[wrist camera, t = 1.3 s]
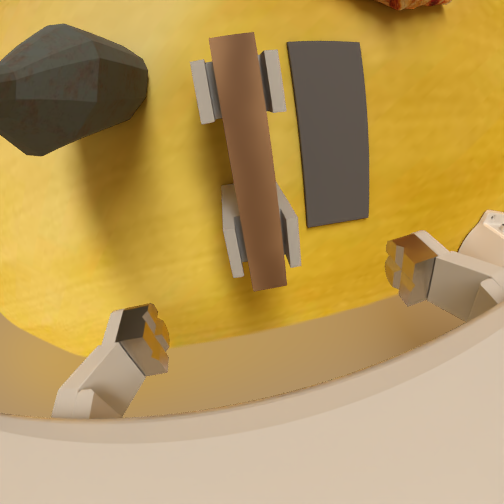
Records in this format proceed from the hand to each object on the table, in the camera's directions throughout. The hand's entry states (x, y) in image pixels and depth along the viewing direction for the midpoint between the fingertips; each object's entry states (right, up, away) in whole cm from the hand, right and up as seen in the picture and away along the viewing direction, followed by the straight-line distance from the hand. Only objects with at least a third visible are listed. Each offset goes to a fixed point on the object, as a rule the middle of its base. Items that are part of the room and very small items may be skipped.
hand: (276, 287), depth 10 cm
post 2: (-1, +8, +27) cm, 28 cm away
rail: (-1, +9, +15) cm, 17 cm away
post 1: (-3, +20, +20) cm, 28 cm away
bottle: (-17, +21, +18) cm, 32 cm away
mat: (+9, +16, +24) cm, 30 cm away
